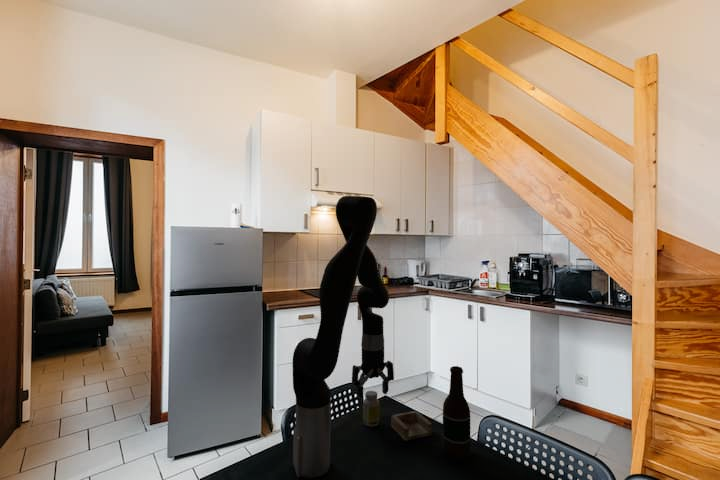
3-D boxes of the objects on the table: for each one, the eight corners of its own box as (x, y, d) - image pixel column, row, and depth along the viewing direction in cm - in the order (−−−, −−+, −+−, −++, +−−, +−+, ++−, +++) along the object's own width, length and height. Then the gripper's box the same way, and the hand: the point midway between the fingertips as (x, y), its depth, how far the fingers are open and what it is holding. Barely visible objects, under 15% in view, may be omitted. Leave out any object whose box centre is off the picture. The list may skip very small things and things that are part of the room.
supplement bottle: (382, 421, 117) (382, 392, 117) (374, 428, 112) (374, 398, 113) (368, 417, 120) (368, 388, 120) (359, 424, 115) (360, 394, 115)
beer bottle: (439, 455, 98) (439, 369, 99) (445, 441, 105) (446, 361, 106) (467, 463, 95) (467, 374, 95) (472, 449, 101) (473, 365, 102)
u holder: (405, 440, 105) (405, 429, 105) (391, 426, 114) (391, 415, 114) (431, 435, 109) (432, 423, 109) (416, 421, 118) (416, 410, 118)
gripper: (356, 352, 110) (357, 403, 110) (397, 347, 116) (397, 396, 115) (349, 345, 117) (349, 394, 117) (387, 341, 123) (387, 387, 122)
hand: (373, 395), depth 116 cm, fingers open, 8 cm apart
